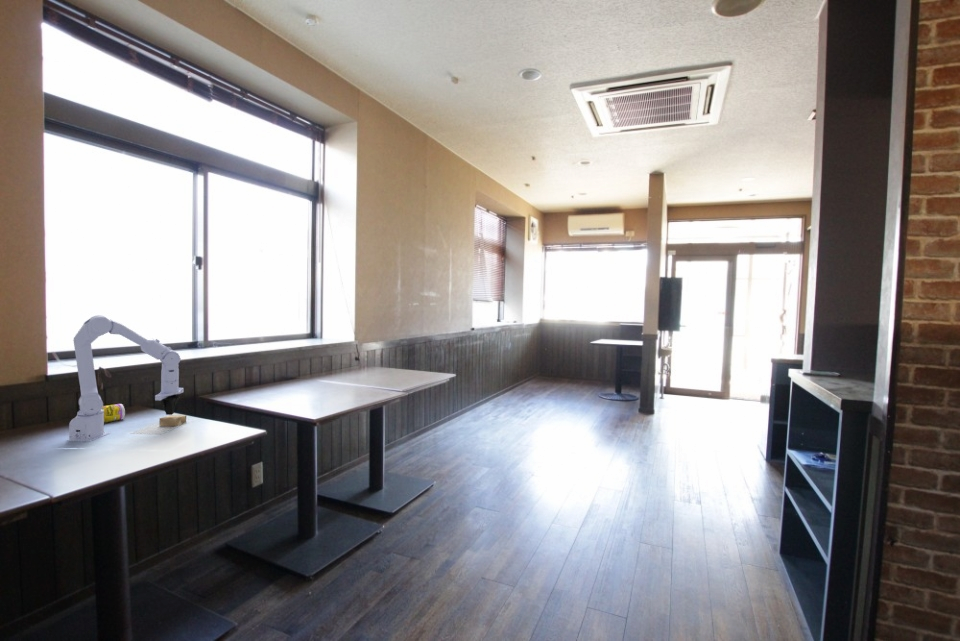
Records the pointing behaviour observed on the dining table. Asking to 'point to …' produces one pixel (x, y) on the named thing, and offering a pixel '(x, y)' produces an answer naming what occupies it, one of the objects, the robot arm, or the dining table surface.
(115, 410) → the supplement bottle
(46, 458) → the dining table surface
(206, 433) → the dining table surface
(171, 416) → the oak block
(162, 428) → the grey mat
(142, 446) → the dining table surface
